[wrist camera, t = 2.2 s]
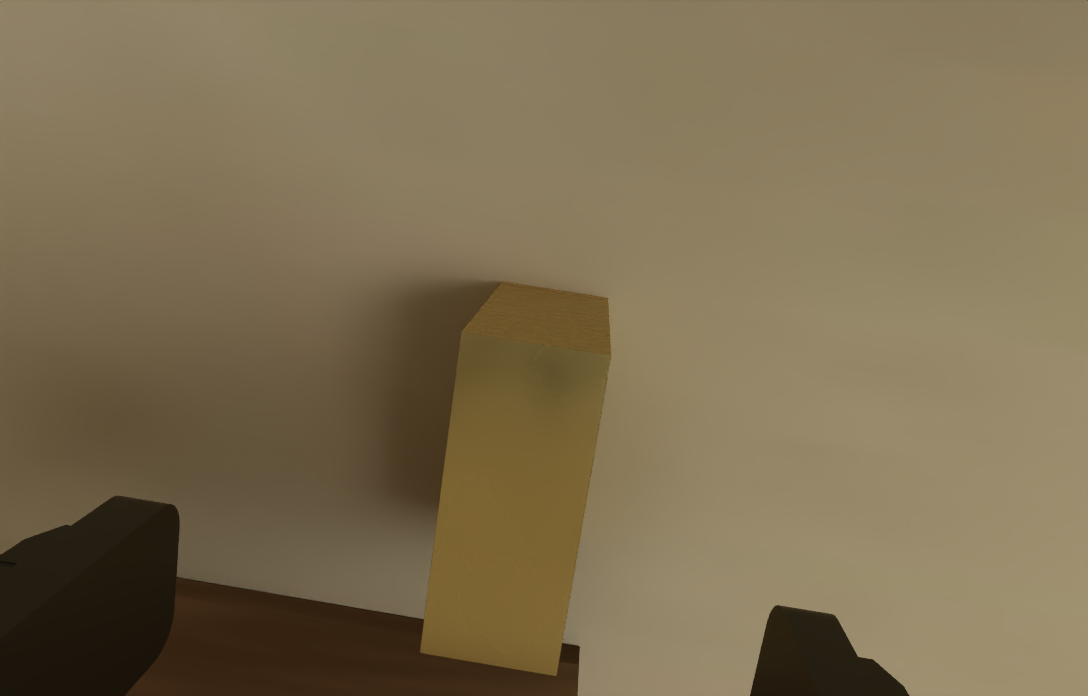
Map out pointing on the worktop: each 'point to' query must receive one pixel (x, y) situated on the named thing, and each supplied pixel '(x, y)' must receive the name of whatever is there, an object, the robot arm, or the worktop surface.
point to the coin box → (318, 653)
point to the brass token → (517, 477)
